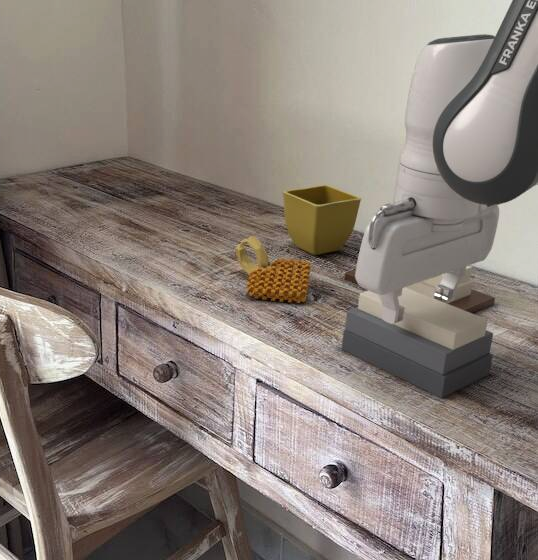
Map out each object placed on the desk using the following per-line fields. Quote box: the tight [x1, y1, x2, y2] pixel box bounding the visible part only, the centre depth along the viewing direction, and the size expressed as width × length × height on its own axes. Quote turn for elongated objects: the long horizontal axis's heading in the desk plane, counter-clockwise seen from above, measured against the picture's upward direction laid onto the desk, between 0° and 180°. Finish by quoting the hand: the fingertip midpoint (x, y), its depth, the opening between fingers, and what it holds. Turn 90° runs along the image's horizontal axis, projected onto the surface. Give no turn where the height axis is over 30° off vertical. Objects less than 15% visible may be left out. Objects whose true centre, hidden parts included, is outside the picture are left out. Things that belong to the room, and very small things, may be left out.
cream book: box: [357, 288, 489, 350], centre depth 91 cm, size 13×6×2 cm, turn 40°
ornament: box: [235, 235, 312, 304], centre depth 112 cm, size 7×10×15 cm
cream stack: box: [344, 265, 496, 314], centre depth 112 cm, size 18×10×5 cm, turn 40°
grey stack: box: [341, 306, 494, 399], centre depth 92 cm, size 14×9×5 cm, turn 40°
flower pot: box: [282, 184, 362, 256], centre depth 126 cm, size 9×9×9 cm
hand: (418, 310), depth 91 cm, fingers open, 8 cm apart
